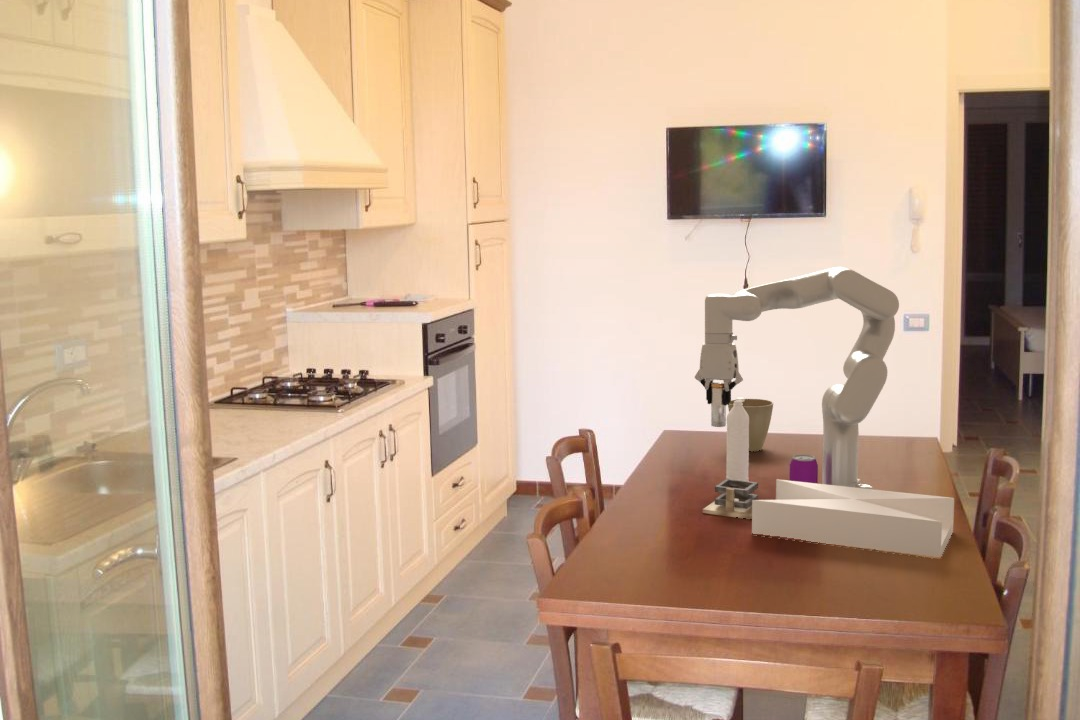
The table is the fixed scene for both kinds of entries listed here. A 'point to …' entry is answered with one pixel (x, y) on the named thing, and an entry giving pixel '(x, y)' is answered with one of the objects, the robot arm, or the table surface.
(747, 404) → the plant pot
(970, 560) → the table surface
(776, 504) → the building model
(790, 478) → the beverage can
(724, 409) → the steel tube
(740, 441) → the water bottle
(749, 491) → the collar stand
